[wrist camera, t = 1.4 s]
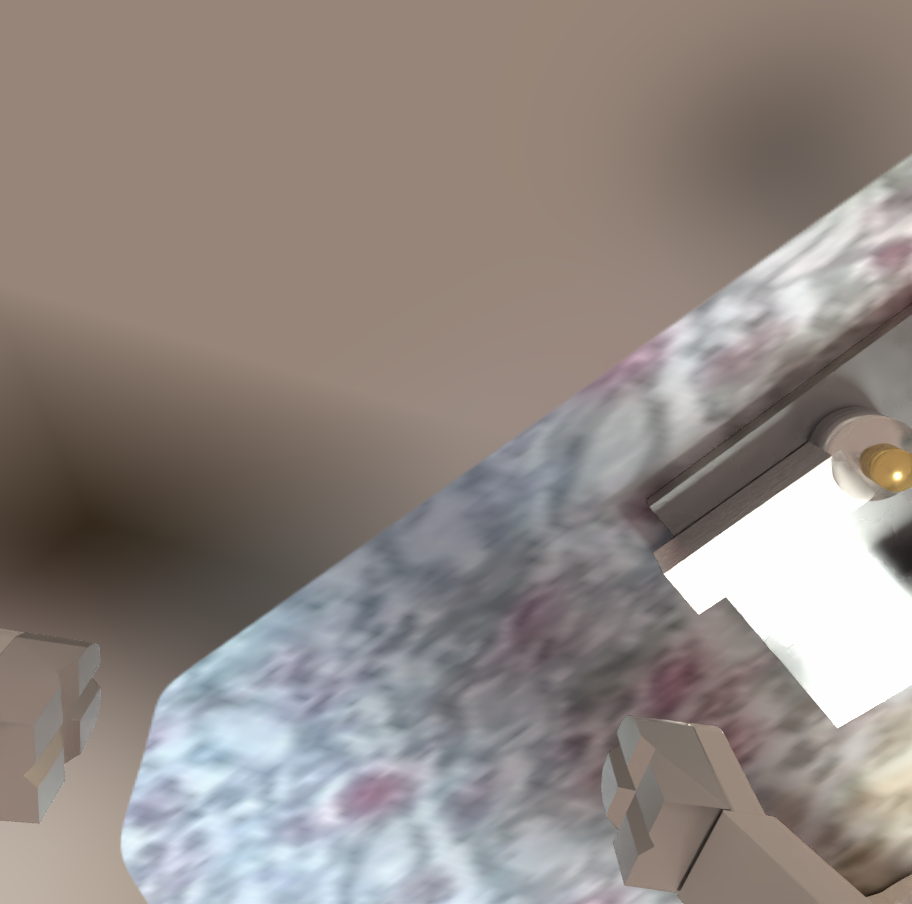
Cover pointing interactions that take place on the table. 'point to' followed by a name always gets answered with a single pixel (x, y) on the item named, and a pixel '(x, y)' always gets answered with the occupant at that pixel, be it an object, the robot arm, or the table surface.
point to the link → (781, 508)
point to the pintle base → (827, 534)
